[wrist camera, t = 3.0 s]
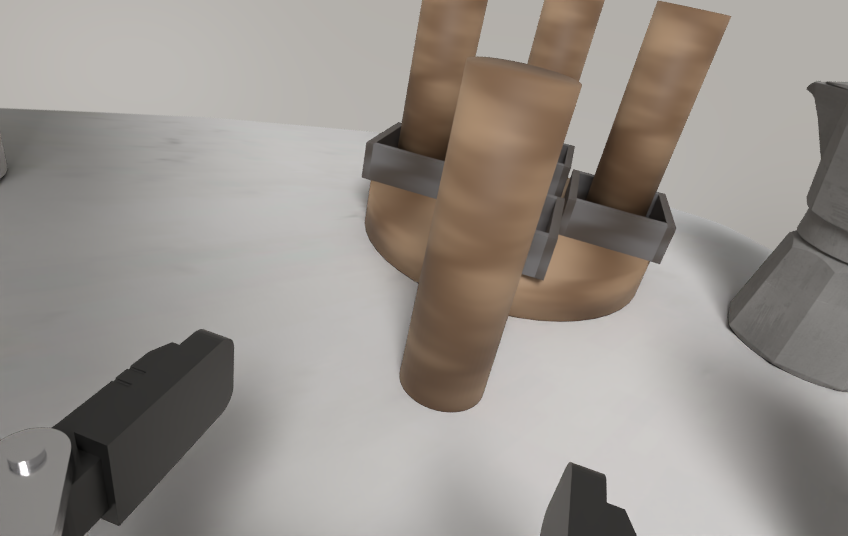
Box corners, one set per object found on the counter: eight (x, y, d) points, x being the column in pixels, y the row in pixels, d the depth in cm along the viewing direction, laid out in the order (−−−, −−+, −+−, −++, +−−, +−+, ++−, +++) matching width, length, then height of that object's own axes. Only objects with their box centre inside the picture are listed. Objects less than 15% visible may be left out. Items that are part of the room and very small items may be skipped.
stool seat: (312, 256, 33) (344, -69, 25) (412, 166, 50) (450, -43, 42) (649, 364, 30) (816, 31, 21) (631, 227, 47) (720, 15, 39)
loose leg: (387, 393, 24) (453, 64, 17) (414, 343, 27) (479, 52, 21) (474, 424, 23) (579, 95, 16) (490, 369, 27) (583, 77, 20)
